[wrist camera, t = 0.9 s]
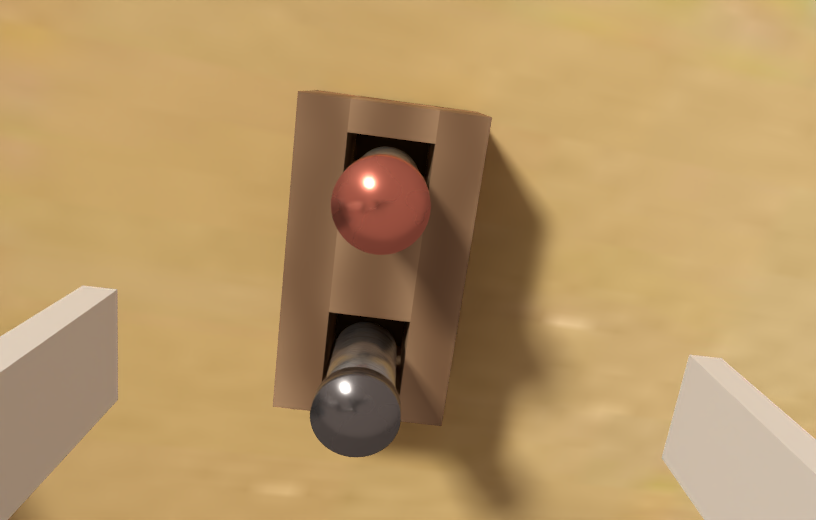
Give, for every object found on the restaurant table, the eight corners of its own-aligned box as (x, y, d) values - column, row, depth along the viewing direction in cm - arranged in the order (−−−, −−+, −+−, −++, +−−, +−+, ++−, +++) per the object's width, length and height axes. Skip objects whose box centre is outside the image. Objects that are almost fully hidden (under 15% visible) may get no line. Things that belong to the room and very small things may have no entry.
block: (293, 356, 43) (272, 406, 36) (317, 90, 38) (297, 91, 31) (436, 373, 43) (441, 425, 37) (477, 112, 39) (491, 117, 32)
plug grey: (326, 379, 36) (306, 451, 29) (333, 312, 35) (314, 371, 28) (396, 387, 37) (394, 461, 29) (406, 321, 35) (406, 381, 28)
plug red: (343, 213, 34) (326, 248, 26) (351, 135, 33) (336, 149, 25) (419, 223, 34) (423, 260, 27) (430, 146, 33) (437, 163, 26)
